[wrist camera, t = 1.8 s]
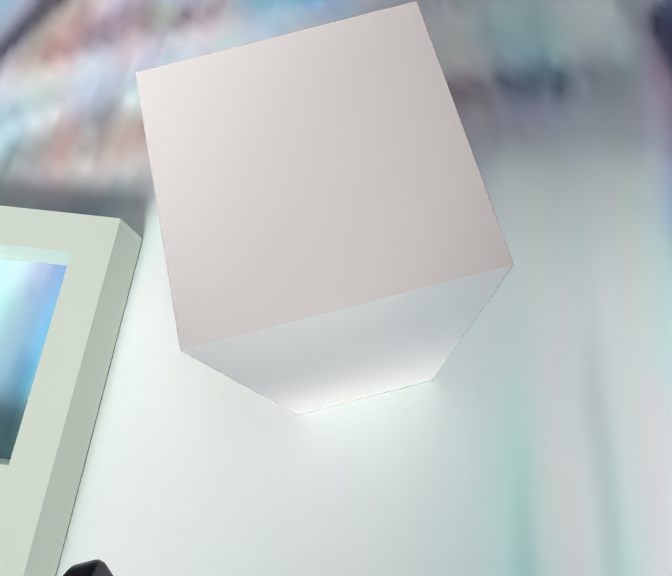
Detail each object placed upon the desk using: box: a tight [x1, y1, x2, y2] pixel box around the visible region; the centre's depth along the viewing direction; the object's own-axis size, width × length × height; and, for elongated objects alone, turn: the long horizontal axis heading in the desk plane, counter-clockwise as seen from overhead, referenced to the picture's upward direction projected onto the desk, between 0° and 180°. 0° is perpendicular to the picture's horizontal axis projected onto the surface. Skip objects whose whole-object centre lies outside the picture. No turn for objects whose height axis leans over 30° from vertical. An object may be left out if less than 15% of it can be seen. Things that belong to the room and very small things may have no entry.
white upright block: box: [136, 1, 514, 415], centre depth 15 cm, size 5×5×12 cm
